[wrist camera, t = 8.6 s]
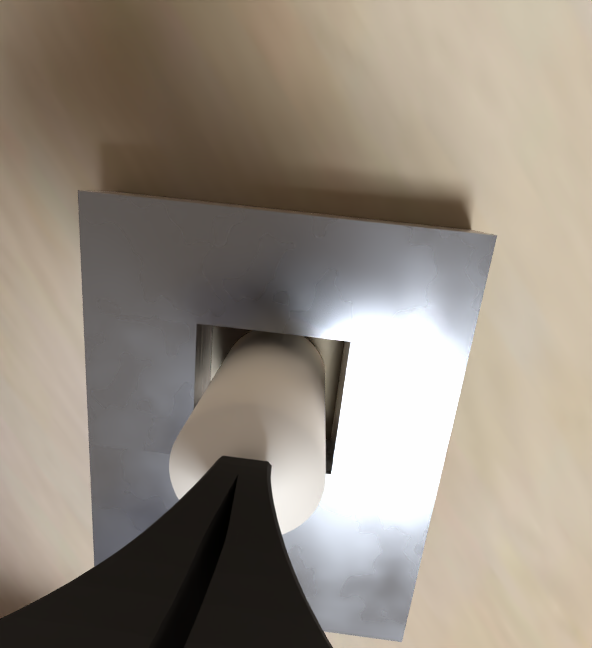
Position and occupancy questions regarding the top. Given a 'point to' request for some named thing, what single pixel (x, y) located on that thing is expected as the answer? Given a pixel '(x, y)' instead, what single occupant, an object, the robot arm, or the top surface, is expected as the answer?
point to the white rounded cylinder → (262, 422)
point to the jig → (295, 319)
